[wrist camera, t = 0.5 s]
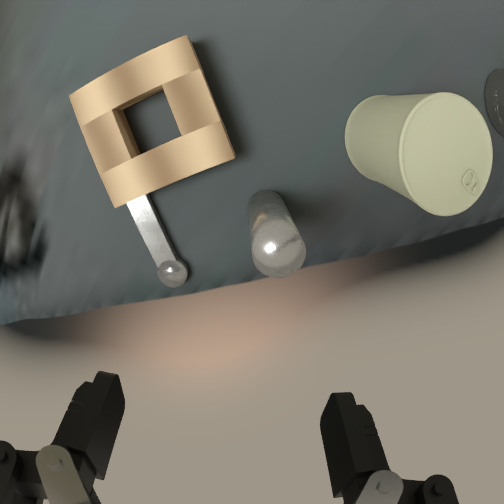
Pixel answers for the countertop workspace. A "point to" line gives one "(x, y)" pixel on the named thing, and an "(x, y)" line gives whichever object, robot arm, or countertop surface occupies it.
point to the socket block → (119, 133)
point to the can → (422, 148)
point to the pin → (274, 236)
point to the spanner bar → (158, 242)
